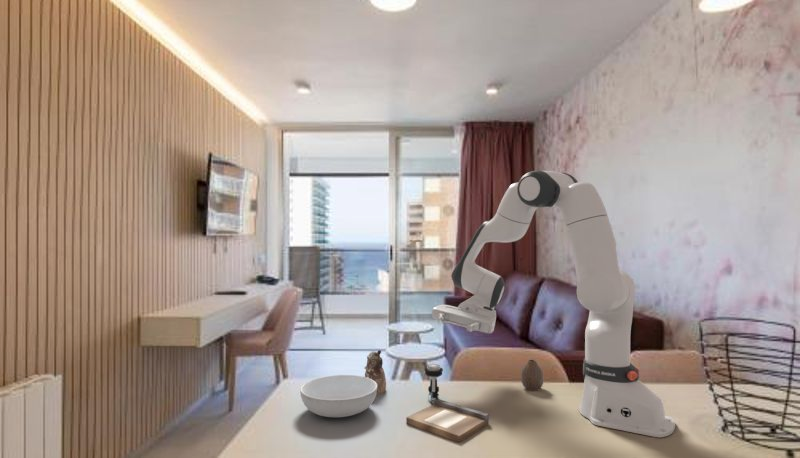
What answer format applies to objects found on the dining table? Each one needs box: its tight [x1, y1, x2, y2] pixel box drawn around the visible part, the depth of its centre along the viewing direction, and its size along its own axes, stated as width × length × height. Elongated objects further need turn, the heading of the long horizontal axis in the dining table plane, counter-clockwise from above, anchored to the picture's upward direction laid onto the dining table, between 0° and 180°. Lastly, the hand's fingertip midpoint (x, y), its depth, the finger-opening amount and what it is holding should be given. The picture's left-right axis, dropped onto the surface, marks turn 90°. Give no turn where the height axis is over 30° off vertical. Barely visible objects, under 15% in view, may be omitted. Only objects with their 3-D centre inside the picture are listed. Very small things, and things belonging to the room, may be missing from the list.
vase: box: [520, 359, 545, 392], centre depth 140 cm, size 7×7×9 cm
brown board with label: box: [405, 399, 490, 443], centre depth 113 cm, size 16×14×2 cm
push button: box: [424, 363, 444, 404], centre depth 129 cm, size 7×5×10 cm
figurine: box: [364, 349, 387, 395], centre depth 138 cm, size 7×7×12 cm
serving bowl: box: [299, 374, 377, 418], centre depth 121 cm, size 21×21×7 cm
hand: (454, 324), depth 135 cm, fingers open, 8 cm apart
